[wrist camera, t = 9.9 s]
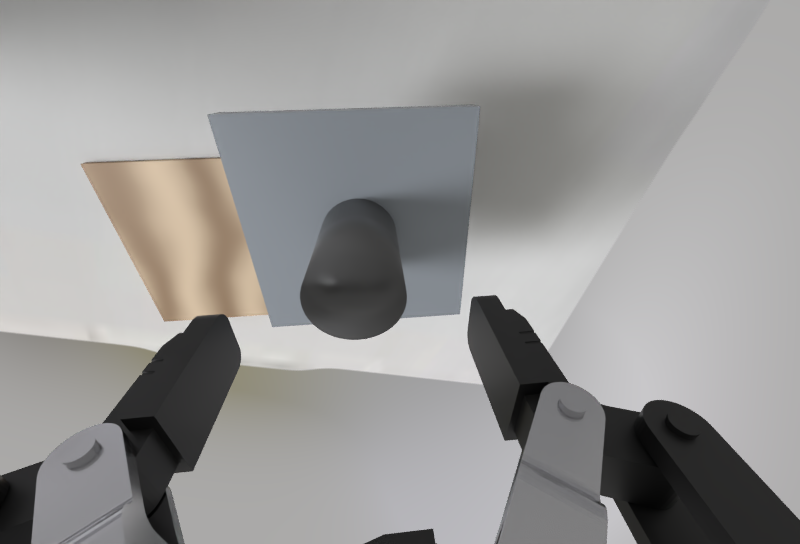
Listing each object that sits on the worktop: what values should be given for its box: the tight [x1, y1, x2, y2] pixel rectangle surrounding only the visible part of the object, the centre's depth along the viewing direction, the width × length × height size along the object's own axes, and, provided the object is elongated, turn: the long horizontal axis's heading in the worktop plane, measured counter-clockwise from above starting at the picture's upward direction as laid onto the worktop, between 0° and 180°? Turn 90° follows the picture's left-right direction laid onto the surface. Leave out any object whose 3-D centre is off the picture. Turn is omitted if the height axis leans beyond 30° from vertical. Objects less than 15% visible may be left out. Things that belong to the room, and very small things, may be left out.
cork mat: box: [81, 158, 268, 321], centre depth 29 cm, size 16×16×1 cm
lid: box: [208, 105, 480, 340], centre depth 15 cm, size 12×12×7 cm
